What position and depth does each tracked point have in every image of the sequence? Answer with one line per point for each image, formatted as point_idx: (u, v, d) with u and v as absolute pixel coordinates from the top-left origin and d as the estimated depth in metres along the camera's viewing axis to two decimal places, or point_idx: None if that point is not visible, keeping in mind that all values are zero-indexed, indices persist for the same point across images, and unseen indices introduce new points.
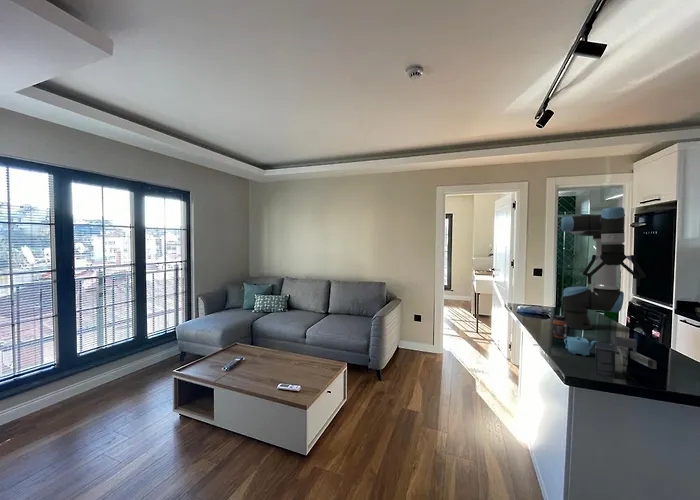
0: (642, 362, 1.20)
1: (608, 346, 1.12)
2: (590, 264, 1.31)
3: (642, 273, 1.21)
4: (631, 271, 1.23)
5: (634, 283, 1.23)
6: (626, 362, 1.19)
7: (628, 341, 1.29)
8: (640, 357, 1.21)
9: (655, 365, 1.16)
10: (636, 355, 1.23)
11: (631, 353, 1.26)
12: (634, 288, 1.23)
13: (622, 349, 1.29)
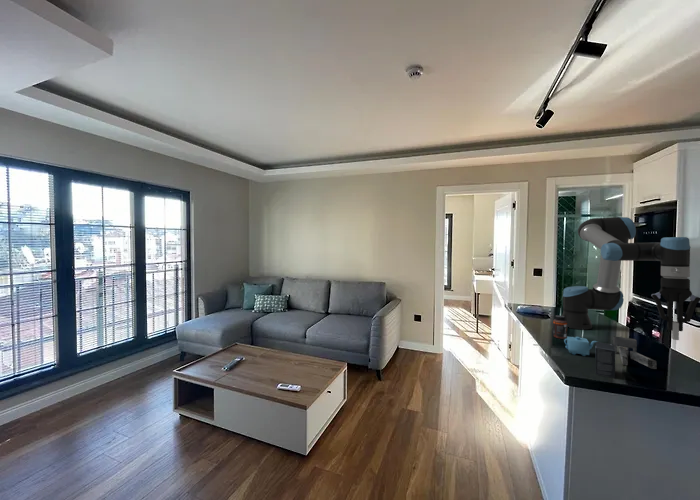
0: (642, 362, 1.20)
1: (608, 346, 1.12)
2: (659, 305, 1.15)
3: (689, 317, 1.10)
4: (681, 313, 1.11)
5: (677, 328, 1.12)
6: (626, 362, 1.19)
7: (628, 341, 1.29)
8: (640, 357, 1.21)
9: (655, 365, 1.16)
10: (636, 355, 1.23)
11: (631, 353, 1.26)
12: (676, 333, 1.12)
13: (622, 349, 1.29)
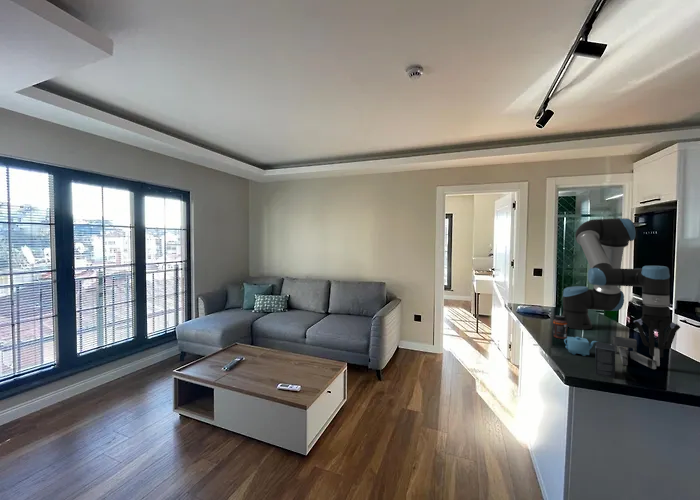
0: (642, 362, 1.20)
1: (608, 346, 1.12)
2: (641, 332, 1.18)
3: (669, 344, 1.14)
4: (661, 340, 1.15)
5: (657, 354, 1.16)
6: (626, 362, 1.19)
7: (628, 341, 1.29)
8: (640, 357, 1.21)
9: (655, 365, 1.16)
10: (636, 355, 1.23)
11: (631, 353, 1.26)
12: (657, 359, 1.16)
13: (622, 349, 1.29)
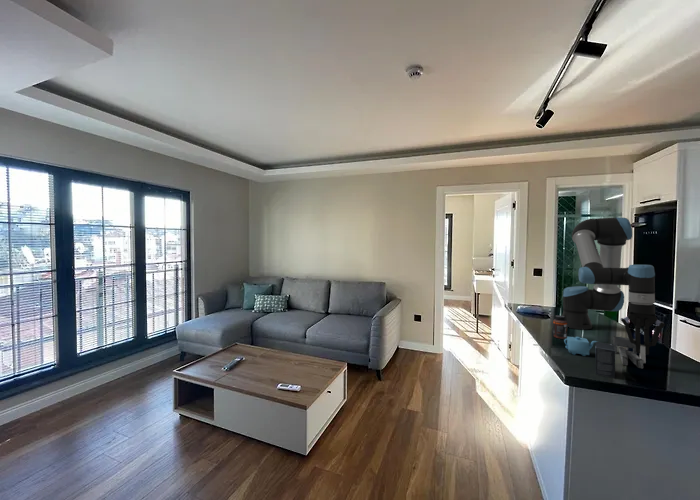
0: (634, 361, 1.21)
1: (608, 346, 1.12)
2: (628, 330, 1.21)
3: (654, 341, 1.16)
4: (647, 337, 1.17)
5: (643, 351, 1.18)
6: (626, 362, 1.19)
7: (628, 341, 1.29)
8: (633, 357, 1.22)
9: (642, 364, 1.16)
10: (631, 355, 1.24)
11: (629, 353, 1.26)
12: (643, 356, 1.18)
13: (622, 349, 1.29)
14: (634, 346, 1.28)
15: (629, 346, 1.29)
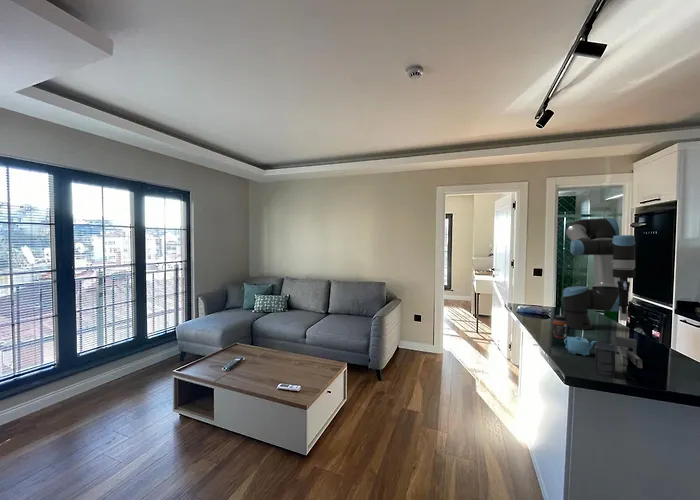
0: (633, 361, 1.21)
1: (608, 346, 1.12)
2: (619, 291, 1.40)
3: (620, 301, 1.34)
4: (620, 298, 1.35)
5: None
6: (626, 362, 1.19)
7: (628, 341, 1.29)
8: (632, 356, 1.22)
9: (641, 364, 1.17)
10: (631, 355, 1.24)
11: (629, 353, 1.26)
12: None
13: (622, 349, 1.29)
14: (634, 346, 1.28)
15: (629, 346, 1.29)
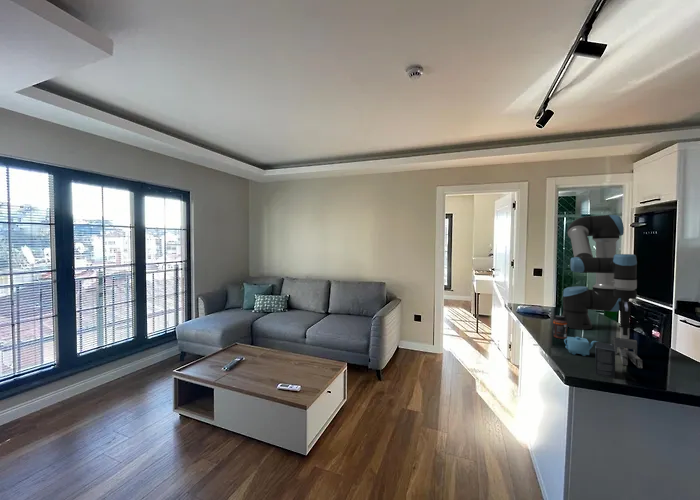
0: (633, 361, 1.21)
1: (608, 346, 1.12)
2: (620, 311, 1.36)
3: (622, 323, 1.30)
4: (621, 319, 1.31)
5: None
6: (626, 362, 1.19)
7: (629, 342, 1.28)
8: (632, 356, 1.22)
9: (641, 364, 1.17)
10: (631, 355, 1.24)
11: (629, 353, 1.26)
12: None
13: (622, 349, 1.29)
14: (634, 347, 1.27)
15: (629, 347, 1.28)
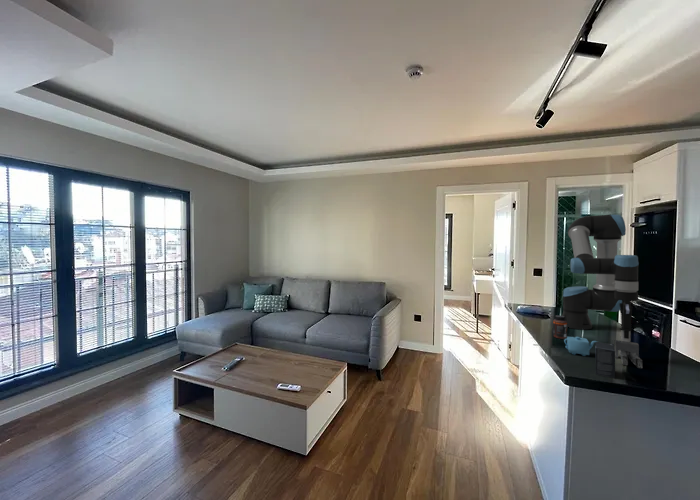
0: (633, 361, 1.21)
1: (608, 346, 1.12)
2: (621, 314, 1.32)
3: (623, 325, 1.26)
4: (622, 321, 1.28)
5: None
6: (626, 362, 1.19)
7: (630, 345, 1.24)
8: (632, 356, 1.22)
9: (641, 364, 1.17)
10: (631, 355, 1.24)
11: (629, 353, 1.26)
12: None
13: None
14: (636, 350, 1.23)
15: (631, 350, 1.24)
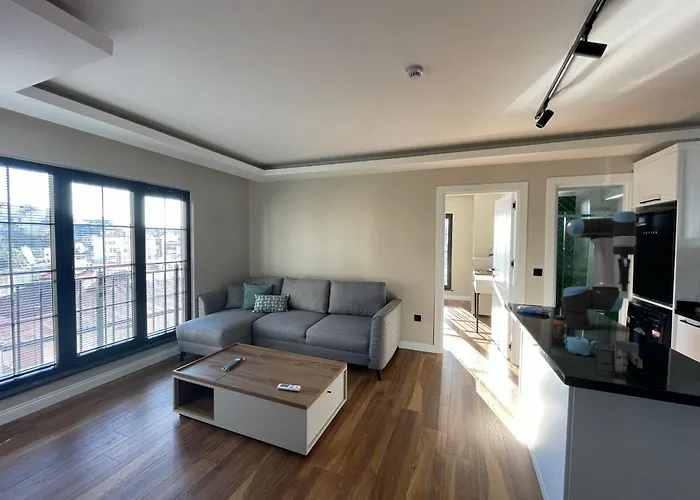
0: (633, 361, 1.21)
1: (608, 346, 1.12)
2: (619, 269, 1.38)
3: (621, 279, 1.32)
4: None
5: None
6: (626, 362, 1.19)
7: (630, 345, 1.24)
8: (632, 356, 1.22)
9: (641, 364, 1.17)
10: (631, 355, 1.24)
11: (629, 353, 1.26)
12: None
13: None
14: (636, 350, 1.23)
15: (631, 350, 1.24)
